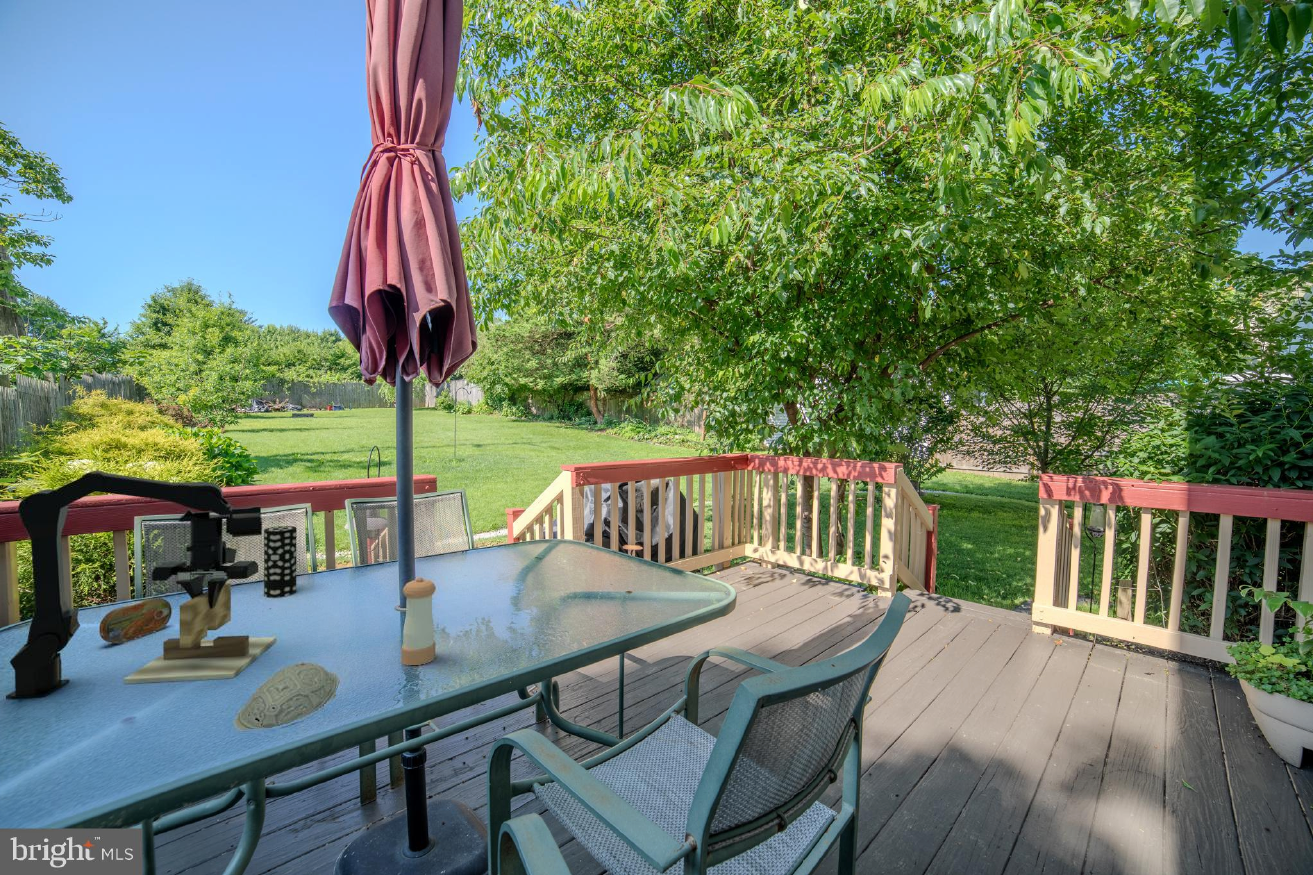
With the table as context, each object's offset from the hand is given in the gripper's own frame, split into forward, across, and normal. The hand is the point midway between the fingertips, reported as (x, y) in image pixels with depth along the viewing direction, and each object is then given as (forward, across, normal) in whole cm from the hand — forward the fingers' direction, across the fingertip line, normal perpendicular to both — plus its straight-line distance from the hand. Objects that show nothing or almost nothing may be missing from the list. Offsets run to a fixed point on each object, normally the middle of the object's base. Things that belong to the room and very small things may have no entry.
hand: (206, 608), depth 129 cm
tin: (+12, +24, -17) cm, 32 cm away
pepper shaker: (+12, -46, +5) cm, 48 cm away
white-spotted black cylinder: (+12, +5, -49) cm, 51 cm away
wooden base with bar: (+12, 0, 0) cm, 12 cm away
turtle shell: (+13, -26, +21) cm, 36 cm away
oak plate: (+6, 0, 0) cm, 6 cm away
